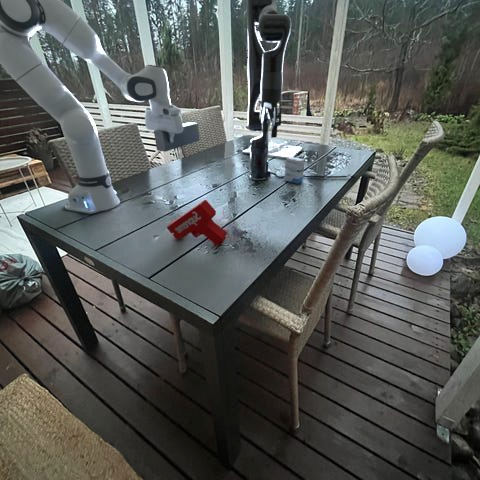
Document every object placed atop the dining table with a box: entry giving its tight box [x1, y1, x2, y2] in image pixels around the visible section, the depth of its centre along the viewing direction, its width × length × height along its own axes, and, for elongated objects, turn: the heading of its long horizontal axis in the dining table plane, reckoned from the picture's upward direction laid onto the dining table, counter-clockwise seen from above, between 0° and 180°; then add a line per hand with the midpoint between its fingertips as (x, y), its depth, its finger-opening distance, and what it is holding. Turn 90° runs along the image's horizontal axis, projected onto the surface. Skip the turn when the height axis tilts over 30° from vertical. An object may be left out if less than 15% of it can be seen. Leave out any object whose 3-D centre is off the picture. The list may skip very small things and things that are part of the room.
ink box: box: [284, 156, 306, 185], centre depth 140 cm, size 8×5×12 cm, turn 47°
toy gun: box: [166, 199, 228, 248], centre depth 93 cm, size 18×4×15 cm
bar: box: [153, 121, 200, 153], centre depth 133 cm, size 25×5×9 cm, turn 149°
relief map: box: [242, 138, 304, 160], centre depth 192 cm, size 27×35×5 cm
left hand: (165, 141), depth 127 cm, fingers closed on bar, 5 cm apart
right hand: (269, 135), depth 105 cm, fingers open, 8 cm apart
